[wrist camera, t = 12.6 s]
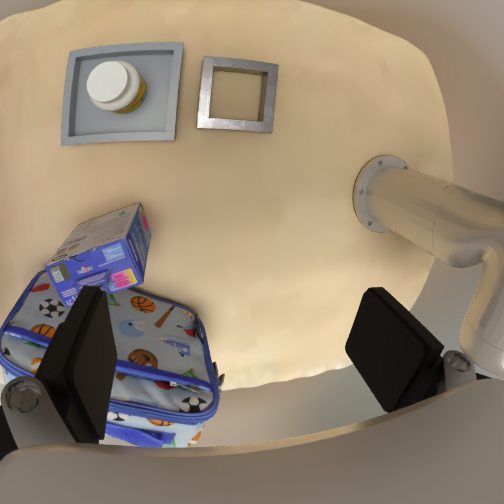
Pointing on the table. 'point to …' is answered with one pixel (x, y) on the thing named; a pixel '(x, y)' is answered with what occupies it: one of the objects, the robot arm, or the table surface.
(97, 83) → the supplement bottle
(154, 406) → the lunch box
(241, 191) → the table surface
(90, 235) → the ink cartridge box
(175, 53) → the tray
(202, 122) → the collar
